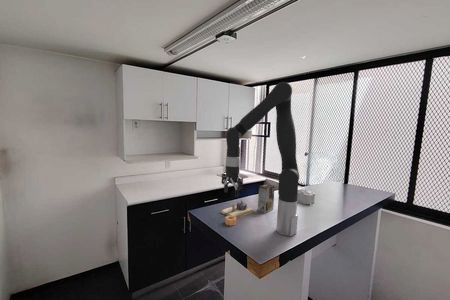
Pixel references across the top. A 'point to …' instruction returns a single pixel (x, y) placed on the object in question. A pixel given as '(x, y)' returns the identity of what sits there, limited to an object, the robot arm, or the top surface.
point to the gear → (230, 220)
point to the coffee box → (266, 198)
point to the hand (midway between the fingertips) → (231, 194)
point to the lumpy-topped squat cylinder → (305, 196)
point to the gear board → (237, 210)
